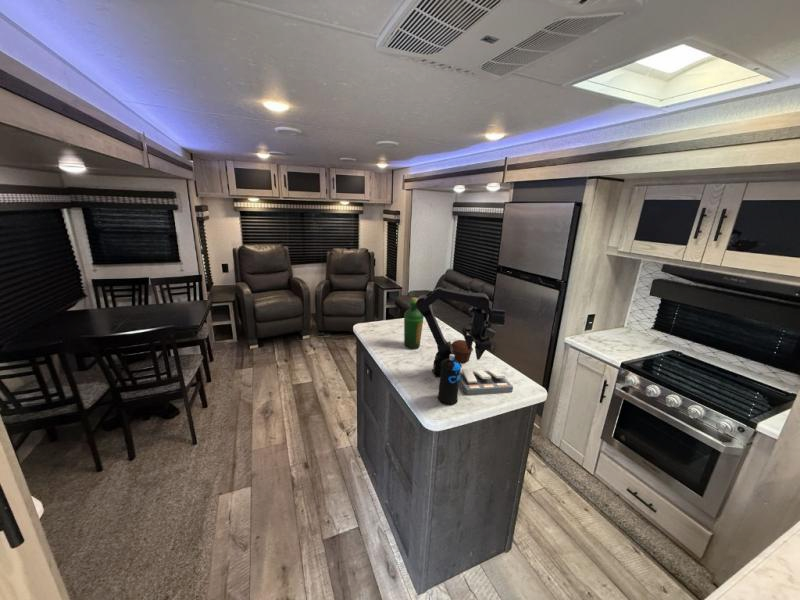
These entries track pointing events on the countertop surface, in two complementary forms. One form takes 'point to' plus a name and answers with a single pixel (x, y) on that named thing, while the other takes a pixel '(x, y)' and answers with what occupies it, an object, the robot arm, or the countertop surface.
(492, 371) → the rocker
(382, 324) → the countertop surface
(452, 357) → the aerosol can
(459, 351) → the muffin
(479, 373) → the rocker
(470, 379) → the rocker
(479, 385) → the switch unit
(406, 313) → the bottle
